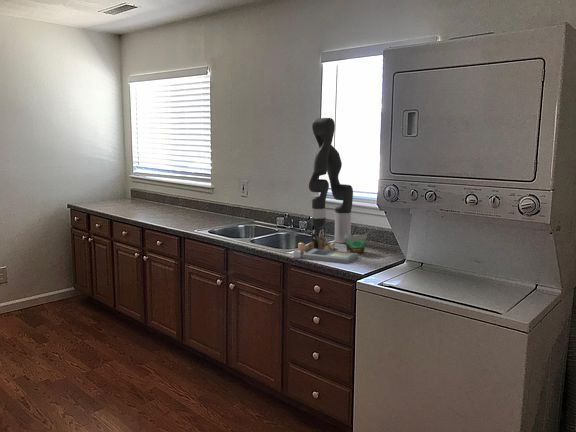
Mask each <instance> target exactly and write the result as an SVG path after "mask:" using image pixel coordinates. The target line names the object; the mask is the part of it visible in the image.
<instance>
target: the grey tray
mask: <svg viewBox="0 0 576 432" xmlns="http://www.w3.org/2000/svg"><path fill="white" fill-rule="evenodd" d="M358 257H359V254H358V253H351V252H347V251H341V250H334V249H332V250H324V249H312V250H311V249H309V250H307V252H306V251H305V252H304V254H303V255H302V259H306V260H314V261H322V262H331V263H340V264H350V263H351V262H352V261H354V260H356V259H357V258H358Z"/></svg>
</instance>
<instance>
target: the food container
mask: <svg viewBox="0 0 576 432" xmlns="http://www.w3.org/2000/svg"><path fill="white" fill-rule="evenodd" d="M344 238H346V243H345V246H346V247H345V249H346V252H351V253H358V255H362V254H364V253H365V249H366V248H365V247H366V240H367V238H368V235H367V232H365V233H364V234H351V235H347V234H345V237H344Z"/></svg>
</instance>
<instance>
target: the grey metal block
mask: <svg viewBox="0 0 576 432" xmlns="http://www.w3.org/2000/svg"><path fill="white" fill-rule="evenodd" d="M301 258H302V255H301V250H298V249H294V250H293V259H301Z"/></svg>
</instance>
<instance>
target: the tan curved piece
mask: <svg viewBox="0 0 576 432" xmlns="http://www.w3.org/2000/svg"><path fill="white" fill-rule="evenodd" d="M335 244H336V242H331V241H326V246H325V247H323V249H324V250H334V249H335ZM310 250H311V242H309V243H307V244H304V252H306V251H307V252H308V251H310Z"/></svg>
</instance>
